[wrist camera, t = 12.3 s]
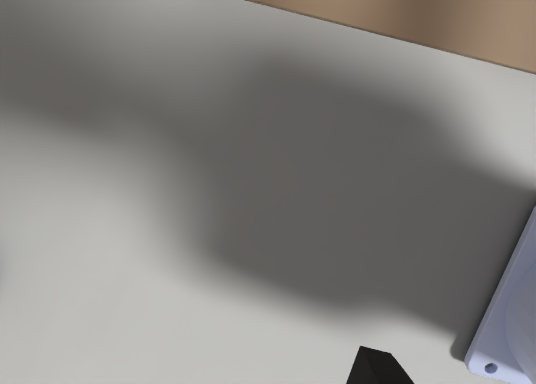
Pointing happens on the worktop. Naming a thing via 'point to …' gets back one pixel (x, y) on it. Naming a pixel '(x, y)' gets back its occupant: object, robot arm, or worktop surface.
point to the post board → (438, 24)
